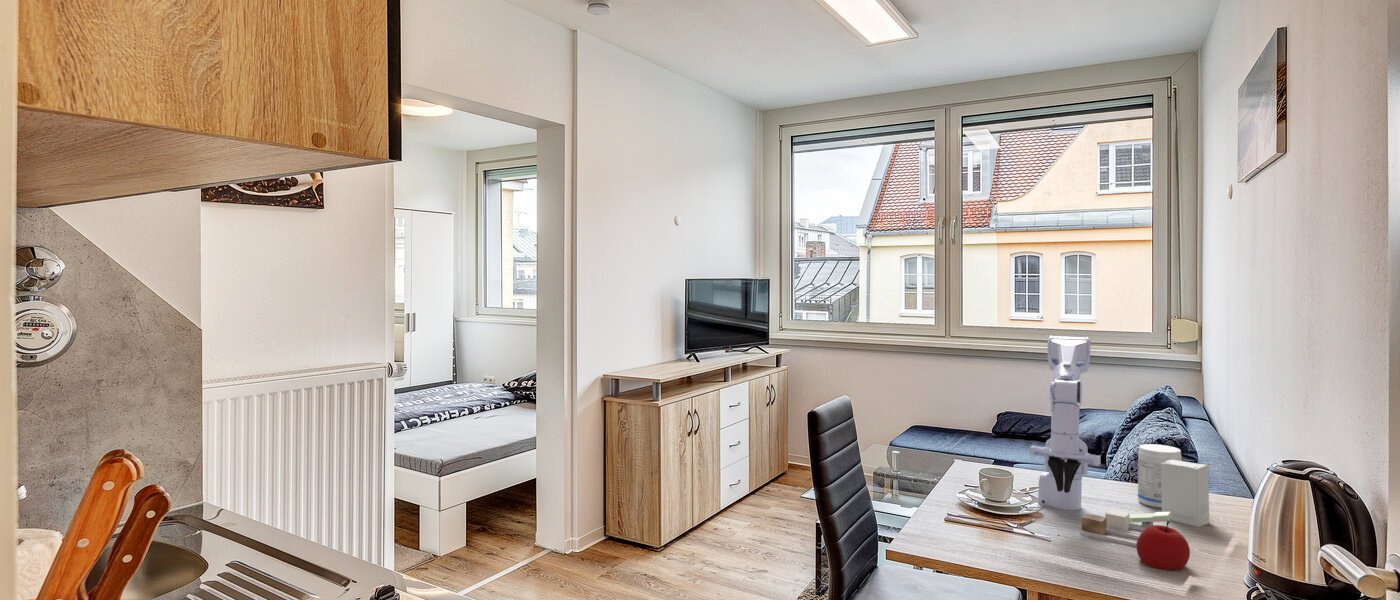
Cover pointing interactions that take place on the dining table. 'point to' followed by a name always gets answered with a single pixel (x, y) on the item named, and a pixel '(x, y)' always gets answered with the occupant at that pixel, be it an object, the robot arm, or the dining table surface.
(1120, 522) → the white cube
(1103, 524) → the brown cube
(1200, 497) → the skincare box
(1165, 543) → the apple
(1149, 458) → the supplement tub
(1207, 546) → the dining table surface
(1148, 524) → the control board
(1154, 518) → the sage rocker
